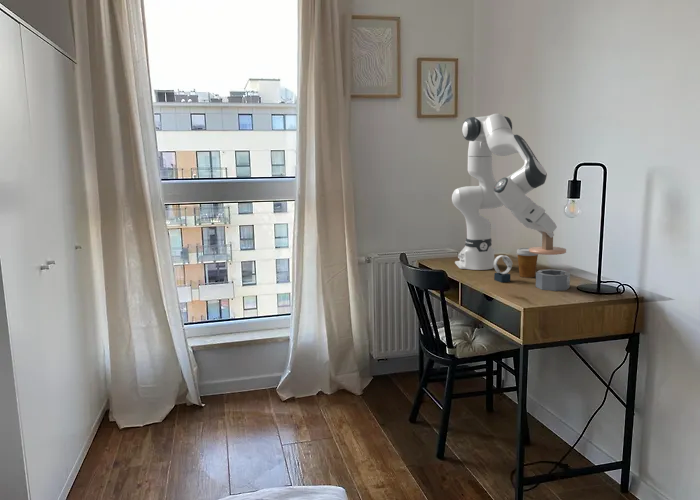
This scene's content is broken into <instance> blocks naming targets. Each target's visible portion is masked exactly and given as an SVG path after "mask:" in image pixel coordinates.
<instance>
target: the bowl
mask: <svg viewBox="0 0 700 500" xmlns="http://www.w3.org/2000/svg"><path fill="white" fill-rule="evenodd" d="M570 283H571V272H570V271H566V270H561V269H540V270H538V271H535V288H537V289H540V290H542V291H552V292H557V291H568V290H569V289H570V286H571V284H570Z"/></svg>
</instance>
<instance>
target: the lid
mask: <svg viewBox="0 0 700 500" xmlns="http://www.w3.org/2000/svg"><path fill="white" fill-rule="evenodd" d="M552 233H553V234H554V231H553V232H552ZM541 235H542V236H541V246H534V247H532V246H530V247H528V248H529V252H530V253H534V254H538V255H545V256H546V255H548V256H552V255H557V256H558V255H563V254H566V253H567V249H566V248H564V247H560V246H554V236H553V237H552V238H551V237H549V236H548V235H547V233H546V232H543V231H542V234H541Z"/></svg>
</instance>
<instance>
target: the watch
mask: <svg viewBox="0 0 700 500" xmlns="http://www.w3.org/2000/svg"><path fill="white" fill-rule="evenodd" d="M494 259H495V260H494V265H493V266H494V268H493V269H494V270H495V272H494V275H493V276H494V277H493V278H494V281H495V282H499V283H502V284H503V283H508V282H511V274H510V273H509V272H511V269H512V268H513V260H512V259H511V258H510V257H509V256H508V255H506V254H505V255H504V254H500V255H497V256H496V257H494ZM500 259H502V261H503V263H504V264H505V266H506V268H505V270H504V271H501V270H500V268H499V266H498V261H499V260H500Z"/></svg>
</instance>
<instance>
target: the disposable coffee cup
mask: <svg viewBox="0 0 700 500" xmlns="http://www.w3.org/2000/svg"><path fill="white" fill-rule="evenodd" d="M529 248H530V247H520V248H517V250H516V255H517V264H518V265H517V266H518V272H519V277H521V278H526V279H527V278H528V279H529V278H531V279H532V278H534V277H535V278H536V269H537V263H538V257H539V254H534V253H530V252H529Z"/></svg>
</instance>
